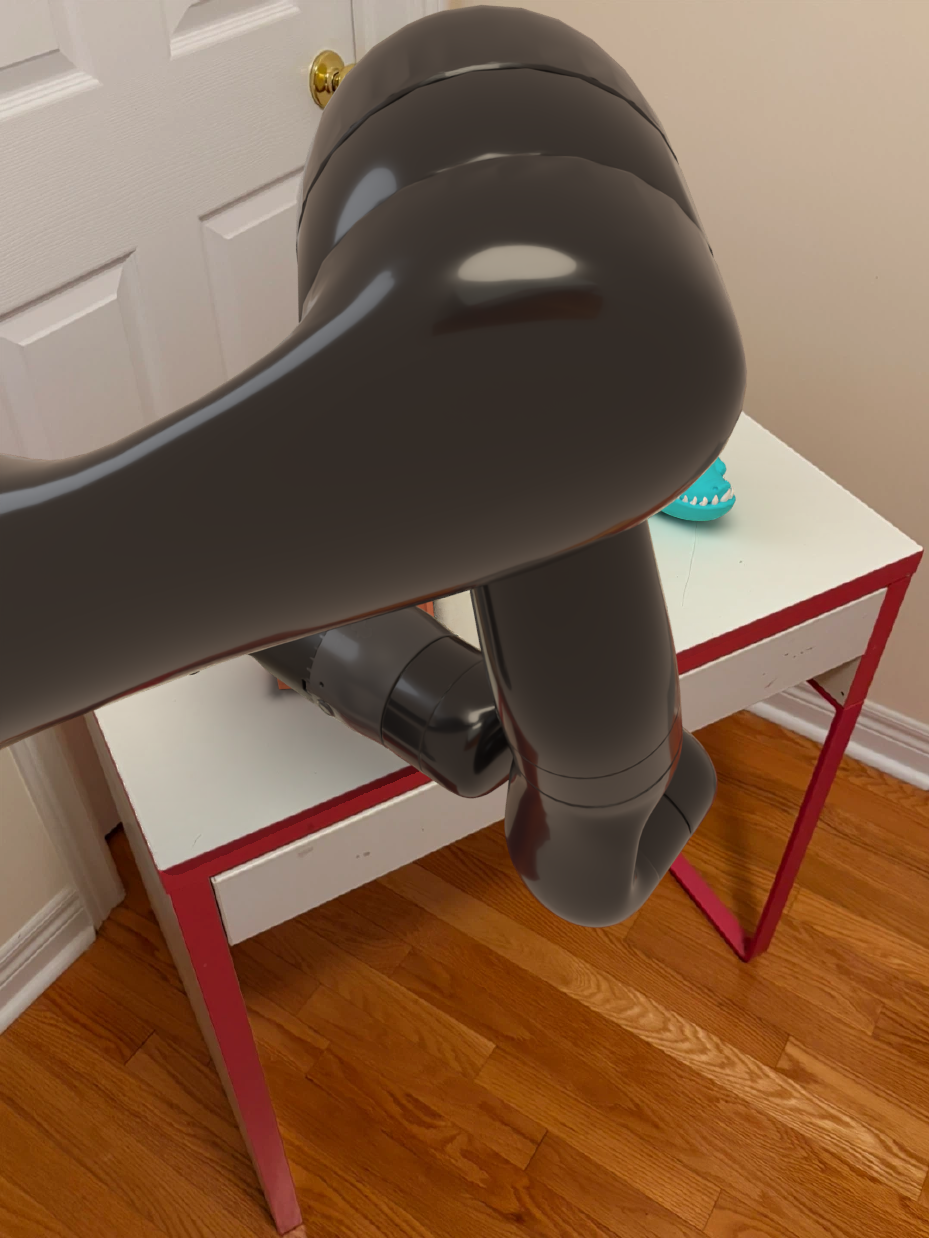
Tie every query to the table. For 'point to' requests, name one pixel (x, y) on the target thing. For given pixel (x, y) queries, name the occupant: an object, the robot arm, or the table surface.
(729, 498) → the toy shark
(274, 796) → the table surface
